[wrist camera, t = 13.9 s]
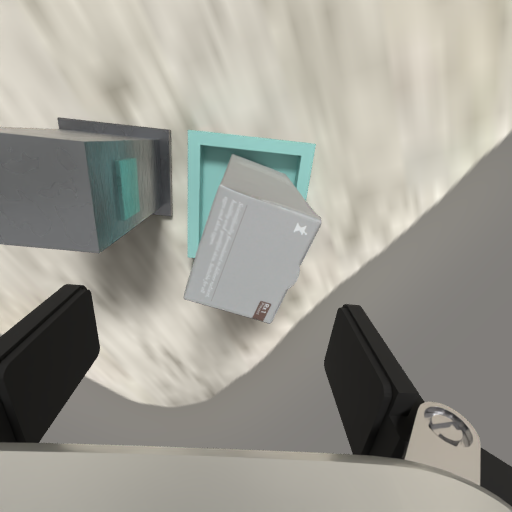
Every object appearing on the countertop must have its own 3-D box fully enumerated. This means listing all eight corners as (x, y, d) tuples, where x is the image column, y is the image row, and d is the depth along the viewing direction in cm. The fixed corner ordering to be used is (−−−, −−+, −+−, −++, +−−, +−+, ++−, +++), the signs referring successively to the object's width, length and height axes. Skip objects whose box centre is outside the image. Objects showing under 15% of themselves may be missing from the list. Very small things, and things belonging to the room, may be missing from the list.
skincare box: (231, 152, 28) (206, 168, 14) (294, 176, 30) (331, 215, 15) (208, 225, 32) (168, 299, 17) (265, 245, 33) (273, 331, 18)
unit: (75, 205, 31) (-50, 253, 18) (61, 117, 28) (-107, 101, 15) (172, 214, 32) (116, 267, 19) (170, 129, 28) (99, 124, 15)
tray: (192, 249, 33) (187, 257, 31) (193, 130, 28) (188, 129, 26) (291, 258, 34) (294, 267, 32) (311, 143, 29) (315, 144, 27)
